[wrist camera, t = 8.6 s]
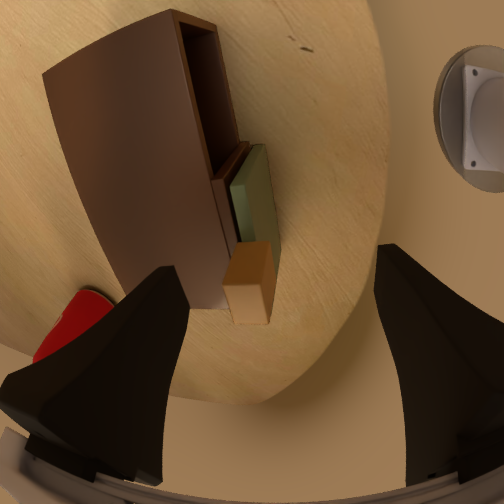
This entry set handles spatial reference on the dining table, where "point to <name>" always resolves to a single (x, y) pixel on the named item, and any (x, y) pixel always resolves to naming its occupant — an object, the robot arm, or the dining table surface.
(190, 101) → the cabinet
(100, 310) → the beverage can
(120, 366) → the robot arm
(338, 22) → the dining table surface
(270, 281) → the green drawer
